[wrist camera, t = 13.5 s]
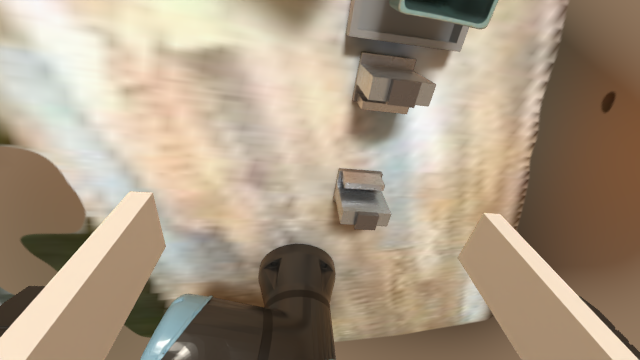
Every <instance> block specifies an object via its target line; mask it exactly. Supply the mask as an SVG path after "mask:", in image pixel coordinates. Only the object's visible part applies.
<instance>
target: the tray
mask: <svg viewBox="0 0 640 360" xmlns="http://www.w3.org/2000/svg"><path fill="white" fill-rule="evenodd" d="M468 29H469V27H468V26H464V25H459V24H454V23H450V22H445V21H440V20H435V19H430V18H425V17H419V16H414V15H407V14H403V13H401V12H399V11H397V10H395V9H394V8H392V7H391V6H390V4H389V0H351V4H350V11H349V17H348V23H347V30H346V34H347V35H348V36H352V37H359V38H366V39H373V40H380V41H387V42H394V43H401V44H408V45H415V46H422V47H429V48H437V49H444V50H451V51H458V52H460V51H461V48H462V45H463V43H464V40H465V37H466V35H467V32H468Z"/></svg>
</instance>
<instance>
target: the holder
mask: <svg viewBox="0 0 640 360" xmlns="http://www.w3.org/2000/svg"><path fill="white" fill-rule="evenodd" d="M415 63H416V60H415V59H411V58H404V57H397V56H389V55H382V54H374V53H367V52H361V56H360V61H359V66H358V72H357V77H356V82H355V87H354V92H353V98H352V100H353V101H357V103H358V104H359V106H360V108H361V109H363V110H373V111H382V112H391V113H401V114H407V112H408V109H409V107H412V108H414V106H415V105H420V106H429V104H430V101H431V98H432V95H433V93H434V90H435V87H436V84H435V83H433V82H431V81H430V80H428V79H426V78H425V77H423V76H421V75H419V74H418V73H416V72H414V71H413V70H414V67H415ZM382 175H383V174H382V172H379V171H366V170H354V169H341V168H339V170H338V176H337V181H336V186H335V191H334V196H333V201H334V202H336V204H337V209H338V215H339V220H340V224H350V225H354V228H355V229H363V230H375V228H376V226H387V225H388V222H389V219H390V216H391V212H390V210H389V207H388V205H387V203H386V201H385V198H384V196H383V194H382V192H381V191H383V190H384V187H385V184H384V182H383V180H382Z"/></svg>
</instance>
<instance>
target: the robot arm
mask: <svg viewBox="0 0 640 360" xmlns="http://www.w3.org/2000/svg"><path fill="white" fill-rule="evenodd" d="M165 247H166V245H165V241H164V237H163V233H162V229H161V225H160V221H159V217H158V213H157V208H156V204H155V200H154V196H153V193H148V192H132V191H130V192H129V193H128V194H127V195H126V196H125V198H124V199H123V200H122V201H121V202H120V203H119V204H118V205H117V207H116V208H115V209H114V210H113V211H112V212H111V213H110V214H109V216H108V217H107V218H106V219H105V220H104V221H103V222H102V223H101V225H100V226H99V227H98V228H97V229H96V230H95V231H94V232H93V234H92V235H91V236H90V237H89V238H88V239H87V240H86V241H85V243H84V244H83V245H82V246H81V247H80V248H79V249H78V250H77V252H76V253H75V254H74V255H73V256H72V257H71V258H70V259H69V261H68V262H67V263H66V264H65V265H64V266H63V267H62V269H61V270H60V271H59V272H58V273H57V274H56V275H55V276H54V278H53V279H52V280H51V281H50V282H49V283H48V284H47V285H46V286H28V287H27V288H25V289H24V290H22V291H21V292H19V293H18V294H16V295H15V296H13V297H12V298H10V299H9V300H7V301H6V302H4V303H3V304H2V305H1V306H0V360H105V358H106V356H107V354H108V352H109V351H110V348H111V347H112V345H113V343H114V341H115V340H116V338H117V336H118V334H119V332H120V330H121V328H122V327H123V325H124V323H125V321H126V319H127V317H128V316H129V314H130V312H131V310H132V308H133V306H134V304H135V303H136V301H137V299H138V297H139V295H140V293H141V291H142V290H143V288H144V286H145V284H146V282H147V280H148V279H149V277H150V275H151V273H152V271H153V269H154V267H155V266H156V264H157V262H158V260H159V258H160V256H161V254H162V253H163V251H164V249H165ZM458 259H459V261H460V262H461V264H462V265H463V267H464V269H465V270H466V272H467V273H468V275H469V277H470V278H471V280H472V281H473V283H474V285H475V286H476V288H477V289H478V291H479V293H480V294H481V296H482V297H483V299H484V301H485V302H486V304H487V305H488V307H489V309H490V310H491V312H492V313H493V315H494V317H495V318H496V320H497V321H498V323H499V325H500V326H501V328H502V329H503V331H504V333H505V334H506V336H507V337H508V339H509V341H510V342H511V344H512V345H513V347H514V348H515V350H516V352H517V353H518V355H519V356H520V358H521V360H640V352H639V351H638V350H637V349H636V348H635V347H634V346H633V345H630V344H629V341H628V340H627V339H626V338H625V337H624V336H623V335H622V334H621V333H620V332H619V331H617V330H615V327H614V326H613V325H612V323H611V322H610V321H609V320H608V319H607V318H606V317H605V316H604V315H603V314H602V313H601V312H600V311H599V310H597V309H596V308H595V307H594V306H592V305H591V304H590V303H588V302H587V301H585V300H584V299H583V298H582V297H580V296H578V295H577V294H576V293H574V291H573V290H572V289H571V288H570V287H569V286H568V285H567V284H566V283H565V282H564V281H563V280H562V279H561V278H560V277H559V276H558V275H557V274H556V272H555V271H554V270H553V269H552V268H551V267H550V266H549V265H548V264H547V263H546V262H545V261H544V260H543V259H542V258H541V257H540V256H539V255H538V253H536V252H535V250H534V249H533V248H532V247H531V246H530V245H529V244H528V243H527V242H526V241H525V240H524V239H523V238H522V237H521V236H520V235H519V234H518V233H517V231H516V230H515V229H514V228H513V227H512V226H511V225H510V224H509V223H508V222H507V221H506V220H505V219H504V218H503V217H502V216H501V215H500V214H491V213H483V215H482V216H481V218H480V220H479V222H478V223H477V225H476V227H475V229H474V230H473V232H472V234H471V235H470V237H469V239H468V241H467V242H466V244H465V246H464V248H463V249H462V251H461V253H460V254H459V256H458ZM334 282H335V268H334V263H333V260H332V258H331V257H330V256H329V255H328V254H327V253H326V252H325V251H323V250H321V249H319V248H317V247H314V246H311V245H305V244H292V245H286V246H282V247H279V248H277V249H275V250H273V251H271V252H270V253H269V254H267V255H266V256H265V258H264V259H263V260H262V262H261V265H260V270H259V284H260V288H261V292H262V297H263V301H264V305H265V307H264V308H263V307H258V306H253V305H248V304H243V303H238V302H233V301H228V300H223V299H218V298H213V296H208V297H207V296H200V295H193V294H185V295H181V296H180V297H178V298H177V299H175V300H174V302H173V303H172V304H171V305H170V307H169V308H168V310H167V311H166V313H165V315H164V316H163V318H162V320H161V321H160V323H159V325H158V326H157V328H156V330H155V332H154V334H153V335H152V337H151V339H150V341H149V343H148V345H147V347H146V349H145V351H144V352H143V355H142V357H141V359H140V360H336V357H335V348H334V339H333V330H332V321H331V313H330V299H331V295H332V290H333V286H334Z"/></svg>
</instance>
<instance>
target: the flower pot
mask: <svg viewBox="0 0 640 360" xmlns="http://www.w3.org/2000/svg"><path fill="white" fill-rule="evenodd" d="M497 3H498V0H389V4H390V6H391V7H392V8H394V9H395V10H397V11H399V12H401V13H403V14H407V15H414V16H419V17H425V18H430V19H435V20H440V21H445V22H450V23H454V24H459V25H464V26H468V27H472V28H476V29H484V28H486V27H487V26H488V24H489V22H490V19H491V17H492V15H493V12H494V10H495V7H496V5H497Z"/></svg>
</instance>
